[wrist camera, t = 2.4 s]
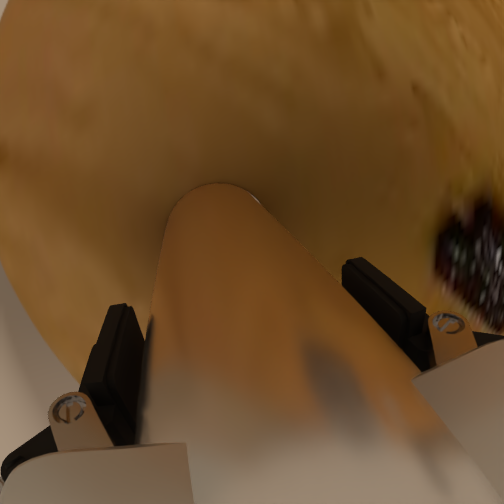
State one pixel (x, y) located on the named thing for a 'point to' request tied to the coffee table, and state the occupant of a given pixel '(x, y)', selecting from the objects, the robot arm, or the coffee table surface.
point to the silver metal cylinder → (283, 374)
